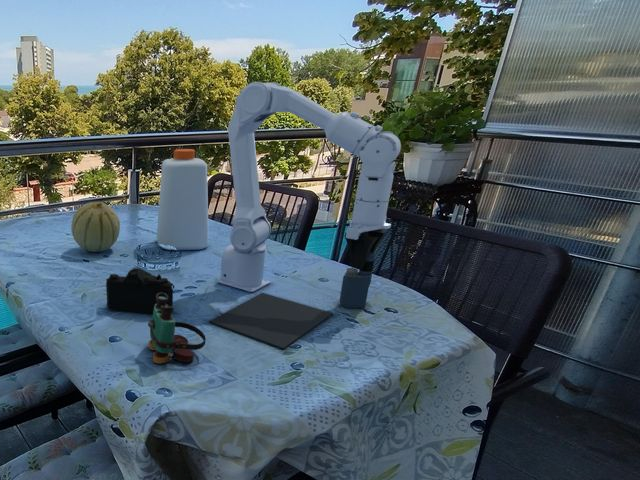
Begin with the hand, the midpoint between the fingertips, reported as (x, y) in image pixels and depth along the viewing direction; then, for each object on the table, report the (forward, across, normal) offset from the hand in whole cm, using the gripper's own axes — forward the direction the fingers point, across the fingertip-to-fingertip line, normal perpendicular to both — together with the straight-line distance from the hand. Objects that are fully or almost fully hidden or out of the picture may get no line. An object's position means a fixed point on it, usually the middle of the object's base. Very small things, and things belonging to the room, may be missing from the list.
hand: (359, 266), depth 95 cm
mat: (+9, -17, +9) cm, 21 cm away
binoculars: (+9, -41, +14) cm, 44 cm away
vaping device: (+9, 0, 0) cm, 9 cm away
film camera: (+9, -30, +33) cm, 46 cm away
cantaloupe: (+9, -10, +71) cm, 72 cm away
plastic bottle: (+9, +12, +56) cm, 58 cm away
